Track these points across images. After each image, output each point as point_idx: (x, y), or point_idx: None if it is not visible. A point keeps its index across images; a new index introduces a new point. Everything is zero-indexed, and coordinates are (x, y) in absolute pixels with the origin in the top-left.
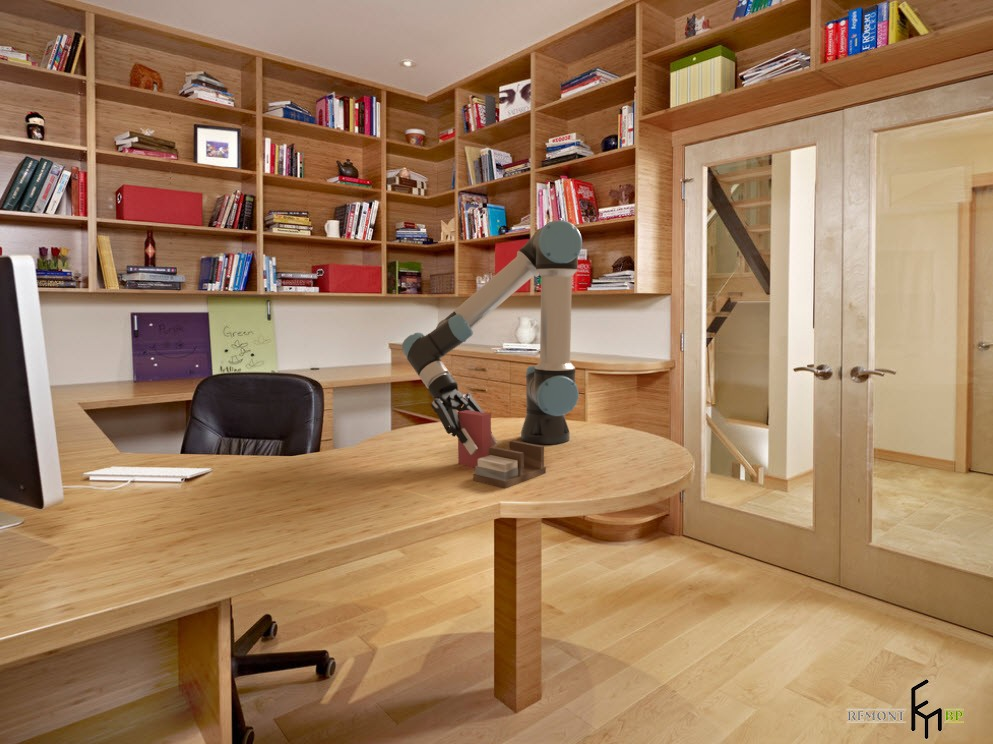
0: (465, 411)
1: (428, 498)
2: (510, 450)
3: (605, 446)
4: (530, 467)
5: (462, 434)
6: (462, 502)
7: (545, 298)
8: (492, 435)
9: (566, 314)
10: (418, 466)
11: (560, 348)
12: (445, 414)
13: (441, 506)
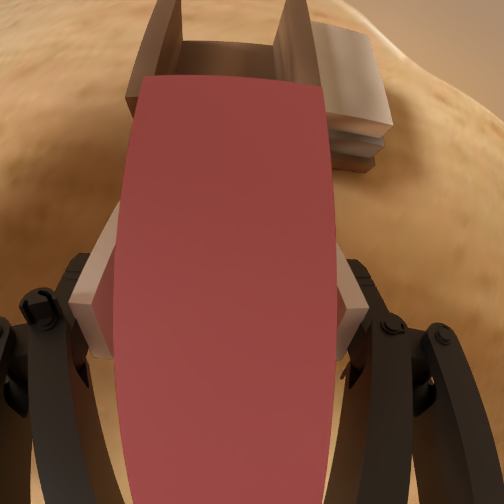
0: (228, 482)
1: (489, 190)
2: (296, 26)
3: None
4: (186, 64)
5: (364, 291)
6: (457, 117)
7: None
8: (110, 225)
9: None
10: None
11: None
12: (489, 445)
13: (487, 141)
